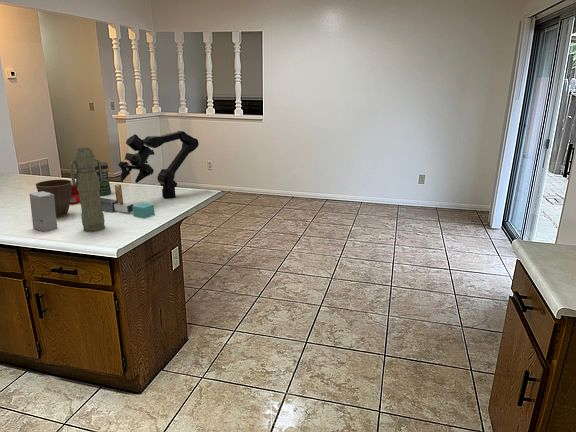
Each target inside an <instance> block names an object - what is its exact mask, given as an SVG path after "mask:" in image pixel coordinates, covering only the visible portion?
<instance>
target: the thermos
mask: <svg viewBox="0 0 576 432" xmlns="http://www.w3.org/2000/svg"><path fill="white" fill-rule="evenodd" d="M101 162H102V161H100V160H99V159H98V158H95V154H94V152H93V150H92V148H89V147H80V148H77V149H75V152H74V159H73V160H70V163H69V169H70V177H71V181H72V183H73V186H77V190H78V192H79V195H80V202H81V203H80V207H81V213H80V216H81V224H82V227H83V228H82V230H83V231H84V232H87V233H88V232H89V233H90V232H92V233H94V232H99V231H103V230H105V228H106V225H105V222H106V221H105V215H104V211H102V209H101V201H100V198H101V196H100V193H99V190H100V183H101V182H102V181H103V177H102V170H101ZM95 163H98V171H99V177H98V175H97V173H96V169H95V167H96V165H95ZM74 165H75V168H76V176H75V172H74V171H75V170H74ZM99 179H100V180H99ZM75 181H76V183H75Z"/></svg>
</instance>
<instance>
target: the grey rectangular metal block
mask: <svg viewBox="0 0 576 432" xmlns="http://www.w3.org/2000/svg"><path fill="white" fill-rule="evenodd" d="M100 201H101V209H102V212H108V213H115V212H117V211H116V210H113V206H112V203H115V202H116V199H112V198H105V197H100Z"/></svg>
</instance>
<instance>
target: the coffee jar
mask: <svg viewBox="0 0 576 432" xmlns="http://www.w3.org/2000/svg"><path fill="white" fill-rule="evenodd" d="M100 162H101V170H102V177H103V181H102V182H101V183H100V190H99V193H100V197H101V196H108V195H111V194H112V188H111V186H110V180H109V179H110V178H109V165H108V163H107V162H106V161H100ZM95 165H96V167H95V169H96V173H97V175H98V177H99V171H98V163H97V162H95ZM99 180H100V179H99Z"/></svg>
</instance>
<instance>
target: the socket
mask: <svg viewBox="0 0 576 432" xmlns="http://www.w3.org/2000/svg"><path fill="white" fill-rule="evenodd" d="M132 208H133V212H132V216H133V217H134V218H139V219H147V218H149V217H152V216H153V215H155V213H156V212H155V204H154V203H147V202H146V203H145V202H141V203H137V204H136V205H135V204H134V206H132Z"/></svg>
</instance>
